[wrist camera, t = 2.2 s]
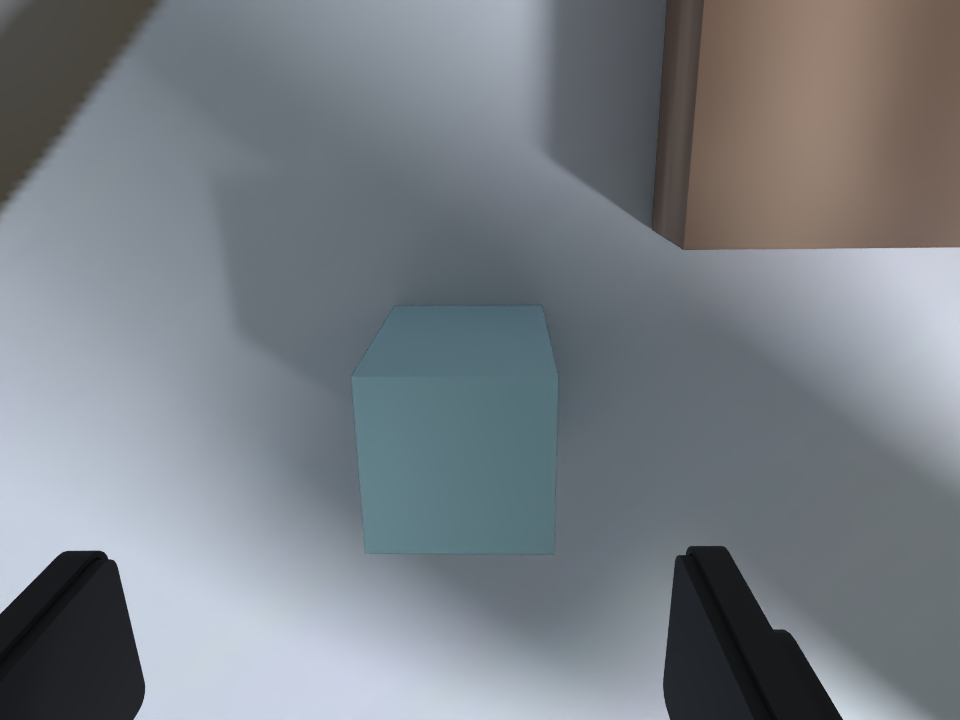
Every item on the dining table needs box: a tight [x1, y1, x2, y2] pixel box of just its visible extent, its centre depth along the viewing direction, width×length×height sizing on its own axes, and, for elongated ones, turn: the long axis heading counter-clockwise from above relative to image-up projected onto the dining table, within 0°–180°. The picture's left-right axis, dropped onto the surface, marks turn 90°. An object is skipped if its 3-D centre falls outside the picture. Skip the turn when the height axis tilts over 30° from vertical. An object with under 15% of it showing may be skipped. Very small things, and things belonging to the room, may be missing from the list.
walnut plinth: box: [652, 0, 960, 250], centre depth 18 cm, size 12×12×4 cm
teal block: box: [351, 305, 558, 555], centre depth 20 cm, size 5×5×7 cm
